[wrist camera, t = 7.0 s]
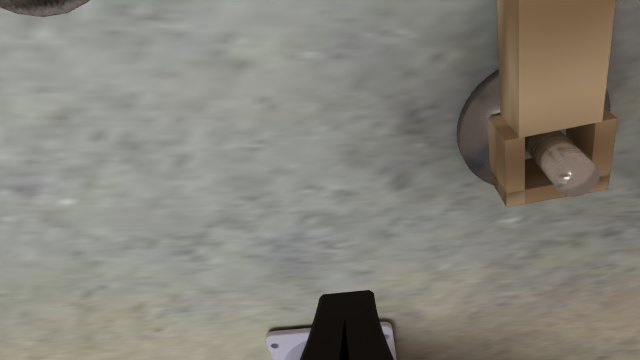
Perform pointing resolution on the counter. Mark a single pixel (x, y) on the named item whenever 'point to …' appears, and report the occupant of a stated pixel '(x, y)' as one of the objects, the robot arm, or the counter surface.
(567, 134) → the link
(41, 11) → the dark grey tall piece
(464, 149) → the pintle base
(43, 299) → the counter surface
